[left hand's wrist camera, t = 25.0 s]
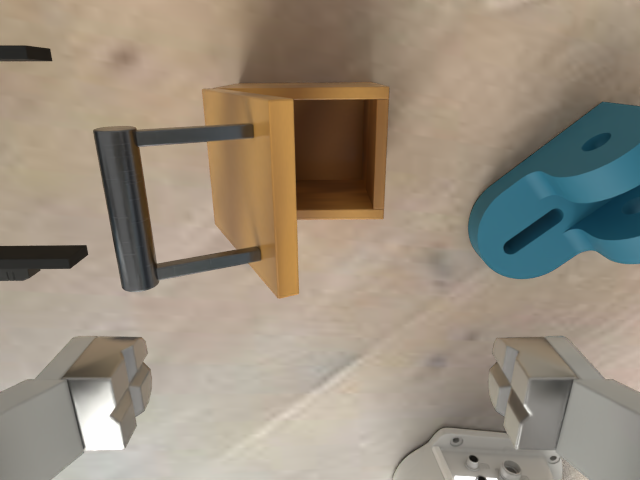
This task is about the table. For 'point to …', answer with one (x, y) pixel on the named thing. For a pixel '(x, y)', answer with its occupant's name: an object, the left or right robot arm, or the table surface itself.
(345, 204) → the chest
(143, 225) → the lid
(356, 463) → the table surface
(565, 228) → the blue clevis bracket
